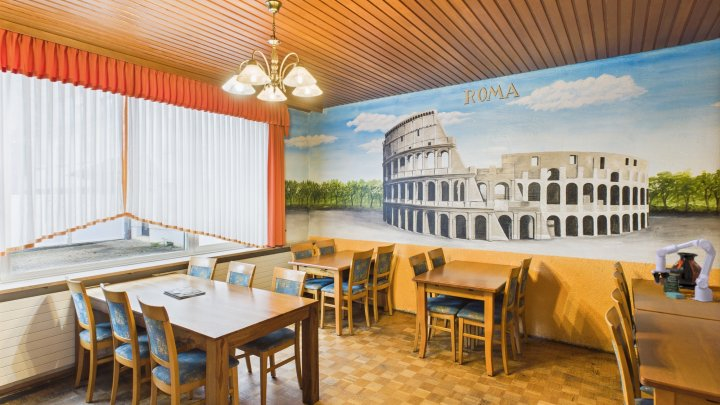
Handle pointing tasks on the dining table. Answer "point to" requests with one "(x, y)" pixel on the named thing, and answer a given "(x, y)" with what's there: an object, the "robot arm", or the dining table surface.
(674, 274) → the coffee jar
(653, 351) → the dining table surface
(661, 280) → the walnut cube
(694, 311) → the dining table surface
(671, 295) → the teal plinth
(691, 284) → the amphora vase
